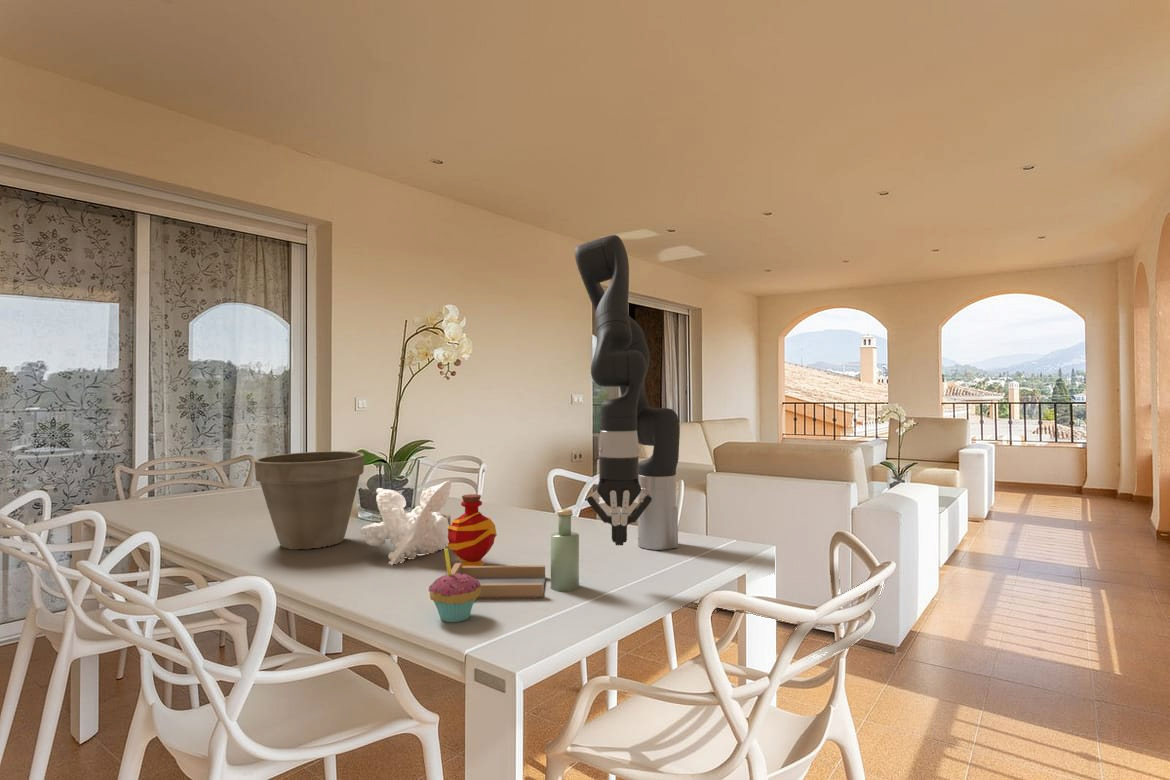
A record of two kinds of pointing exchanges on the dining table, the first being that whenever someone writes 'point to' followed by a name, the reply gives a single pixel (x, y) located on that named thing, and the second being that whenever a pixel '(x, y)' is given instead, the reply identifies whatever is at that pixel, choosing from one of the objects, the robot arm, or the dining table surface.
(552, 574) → the bottle
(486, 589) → the wooden shallow tray
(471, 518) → the potion bottle
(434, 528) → the white lumpy branched piece
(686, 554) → the dining table surface
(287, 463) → the plant pot
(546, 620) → the dining table surface
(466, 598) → the cupcake
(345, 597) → the dining table surface
